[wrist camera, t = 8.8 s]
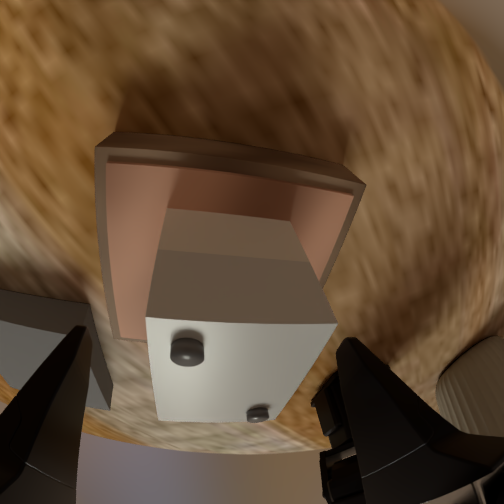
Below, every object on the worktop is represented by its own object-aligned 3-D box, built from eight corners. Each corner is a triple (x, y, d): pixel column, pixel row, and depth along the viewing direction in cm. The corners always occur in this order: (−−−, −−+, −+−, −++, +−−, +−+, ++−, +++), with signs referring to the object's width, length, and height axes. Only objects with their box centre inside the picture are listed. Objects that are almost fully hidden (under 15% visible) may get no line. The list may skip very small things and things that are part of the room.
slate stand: (89, 304, 15) (79, 336, 13) (113, 385, 21) (110, 410, 19) (-26, 283, 13) (-41, 308, 11) (17, 364, 18) (10, 386, 16)
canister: (449, 342, 26) (520, 491, 9) (525, 303, 27) (588, 406, 10) (400, 408, 36) (440, 515, 19) (476, 371, 38) (518, 457, 21)
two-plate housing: (255, 327, 14) (276, 426, 10) (163, 322, 13) (158, 427, 9) (289, 221, 11) (342, 332, 7) (166, 207, 10) (143, 327, 6)
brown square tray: (343, 165, 12) (368, 187, 10) (284, 318, 18) (294, 350, 16) (114, 131, 10) (92, 148, 8) (120, 308, 16) (113, 341, 14)
